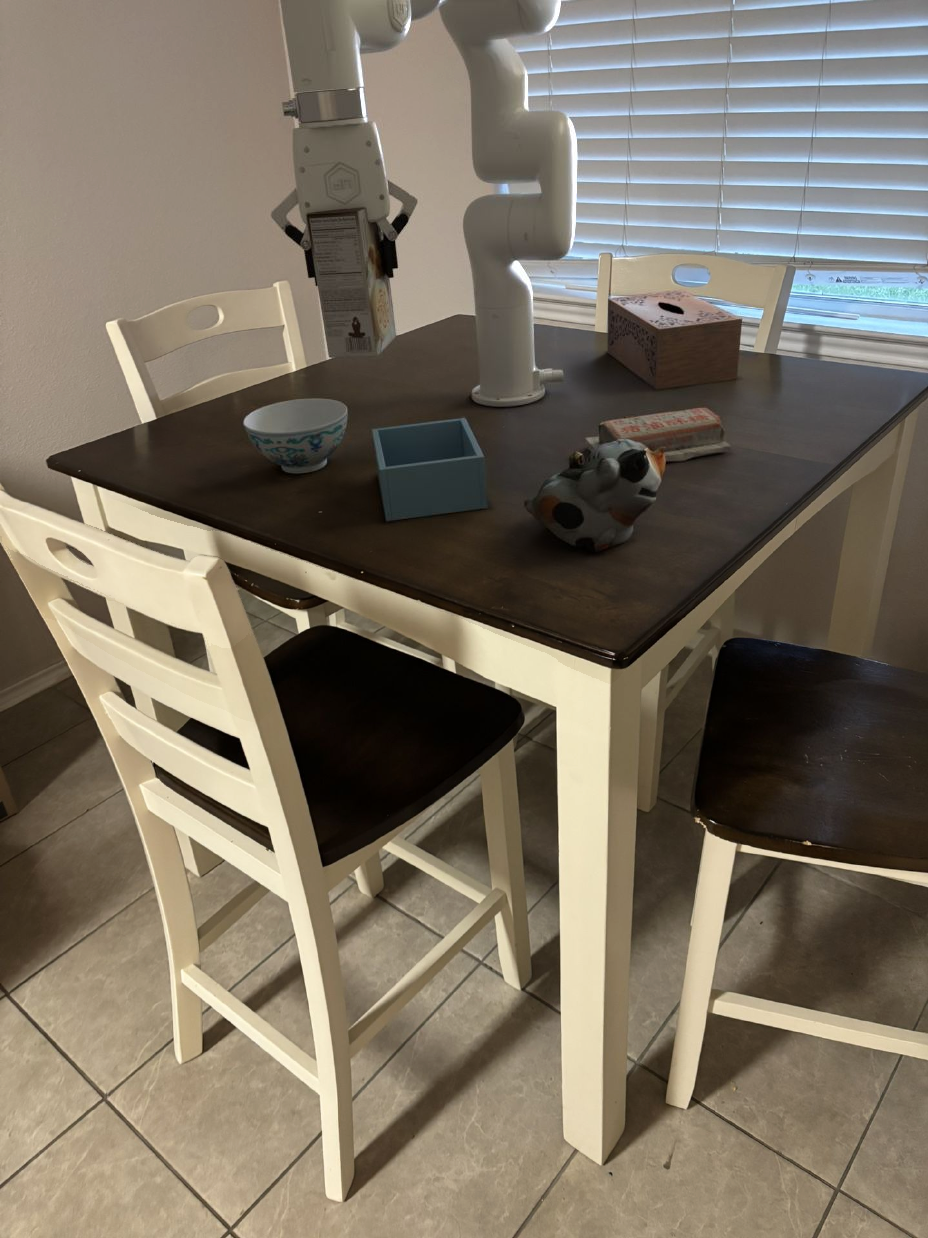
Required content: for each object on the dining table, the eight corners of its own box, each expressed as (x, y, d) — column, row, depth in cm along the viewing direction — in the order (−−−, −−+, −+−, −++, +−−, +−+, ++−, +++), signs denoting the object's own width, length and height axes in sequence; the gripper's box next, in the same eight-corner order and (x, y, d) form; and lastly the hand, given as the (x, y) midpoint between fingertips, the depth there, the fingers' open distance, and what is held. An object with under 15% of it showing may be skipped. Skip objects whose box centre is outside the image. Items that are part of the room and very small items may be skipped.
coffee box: (349, 338, 114) (330, 201, 106) (397, 337, 113) (381, 197, 105) (327, 358, 107) (304, 212, 98) (378, 357, 105) (360, 209, 97)
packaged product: (702, 399, 130) (734, 420, 122) (700, 431, 133) (731, 454, 124) (584, 416, 128) (608, 439, 119) (584, 448, 130) (607, 473, 122)
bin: (468, 464, 128) (465, 417, 124) (487, 508, 115) (484, 456, 111) (377, 476, 127) (371, 428, 123) (386, 521, 114) (379, 469, 110)
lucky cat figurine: (572, 497, 115) (628, 403, 108) (641, 555, 110) (704, 461, 103) (503, 507, 104) (560, 402, 97) (576, 571, 99) (642, 467, 92)
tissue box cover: (607, 352, 173) (608, 298, 167) (678, 342, 174) (681, 289, 169) (656, 389, 151) (658, 329, 146) (737, 378, 153) (742, 318, 147)
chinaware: (310, 491, 124) (300, 437, 120) (232, 475, 131) (221, 425, 127) (374, 454, 135) (368, 404, 131) (299, 441, 142) (291, 394, 138)
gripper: (249, 118, 93) (280, 294, 102) (415, 103, 94) (430, 277, 103) (252, 116, 99) (280, 282, 108) (407, 102, 101) (422, 266, 110)
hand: (354, 278), depth 106 cm, fingers closed on coffee box, 8 cm apart
